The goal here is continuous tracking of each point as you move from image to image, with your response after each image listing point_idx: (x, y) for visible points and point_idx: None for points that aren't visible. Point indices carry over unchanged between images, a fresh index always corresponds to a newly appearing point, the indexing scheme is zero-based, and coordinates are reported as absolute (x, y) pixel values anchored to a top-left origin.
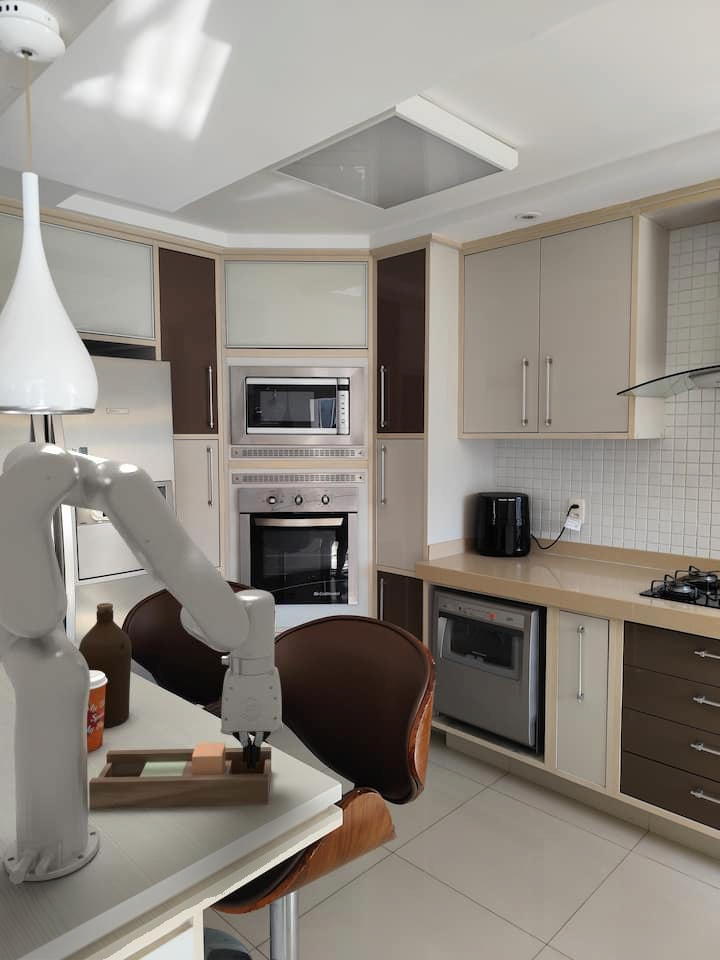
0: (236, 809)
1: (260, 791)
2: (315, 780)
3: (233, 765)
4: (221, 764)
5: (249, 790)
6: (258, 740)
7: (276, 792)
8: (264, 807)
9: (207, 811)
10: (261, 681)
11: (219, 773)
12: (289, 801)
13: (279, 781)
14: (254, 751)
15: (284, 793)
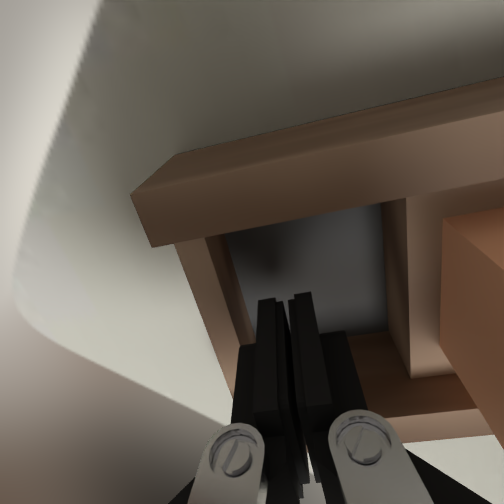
0: (308, 82)
1: (195, 162)
2: (70, 337)
3: (393, 358)
4: (494, 261)
5: (253, 149)
6: (229, 480)
7: (174, 247)
8: (179, 126)
9: (460, 30)
10: None
11: (473, 230)
12: (94, 193)
13: (192, 316)
14: (263, 381)
15: (140, 245)
